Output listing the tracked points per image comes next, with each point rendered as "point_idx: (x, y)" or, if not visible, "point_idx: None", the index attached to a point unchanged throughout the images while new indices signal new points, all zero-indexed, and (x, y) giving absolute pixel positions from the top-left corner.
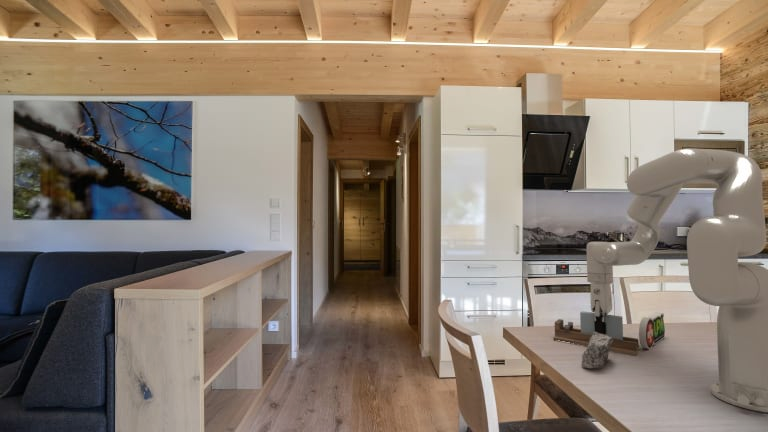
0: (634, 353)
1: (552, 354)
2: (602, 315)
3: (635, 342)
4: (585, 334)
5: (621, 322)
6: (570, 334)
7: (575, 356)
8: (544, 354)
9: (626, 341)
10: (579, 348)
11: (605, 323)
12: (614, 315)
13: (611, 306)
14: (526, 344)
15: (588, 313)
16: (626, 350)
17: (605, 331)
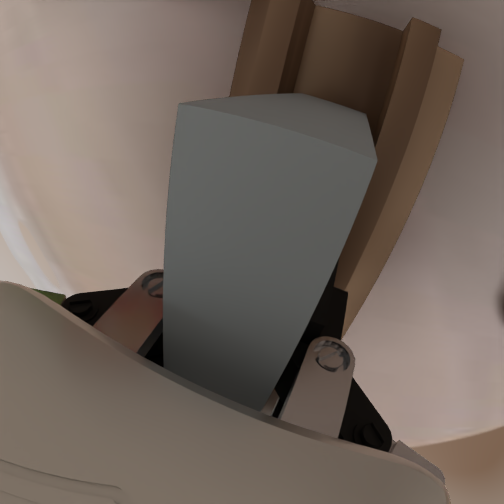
0: (459, 66)
1: (473, 413)
2: (332, 436)
3: (421, 27)
4: None
5: (359, 134)
6: None
7: (500, 363)
8: (471, 426)
9: (421, 94)
10: (398, 338)
11: (322, 316)
12: (167, 250)
13: (14, 364)
14: None
15: None
16: (438, 105)
17: (336, 263)
